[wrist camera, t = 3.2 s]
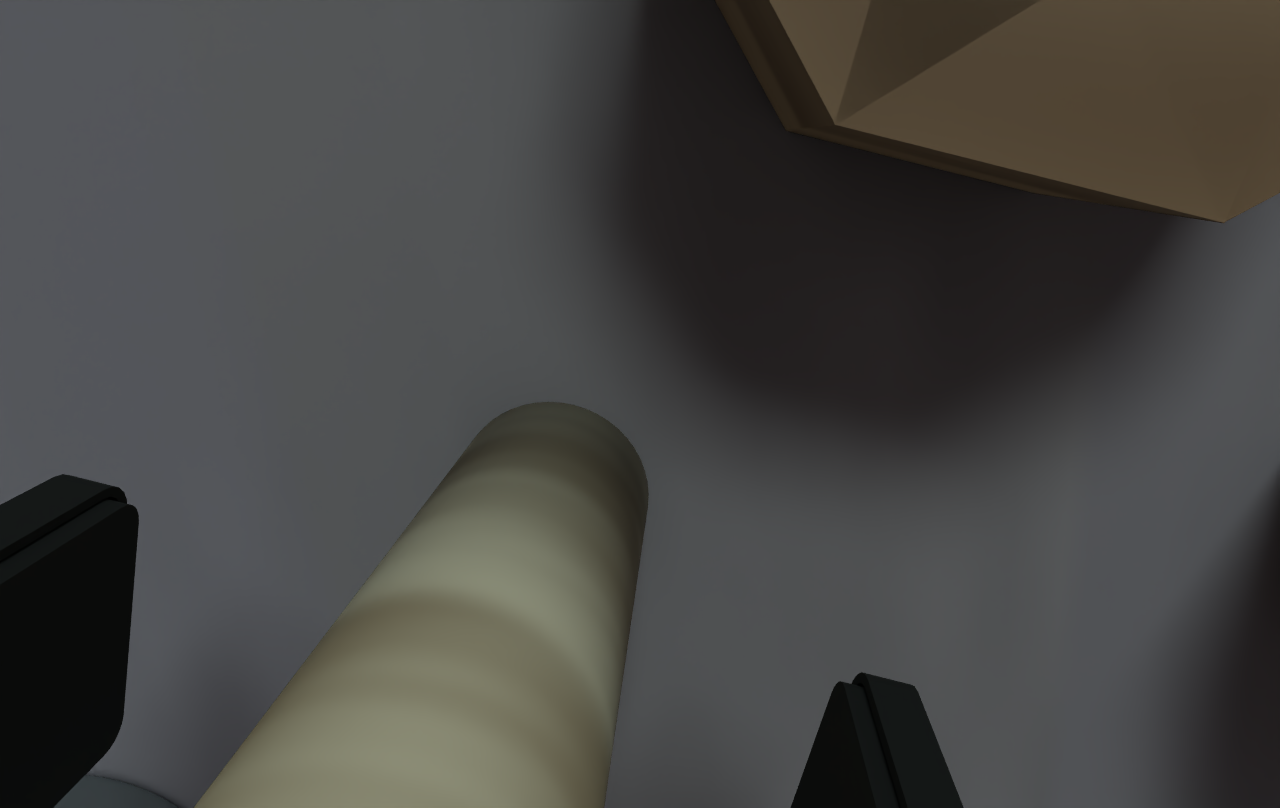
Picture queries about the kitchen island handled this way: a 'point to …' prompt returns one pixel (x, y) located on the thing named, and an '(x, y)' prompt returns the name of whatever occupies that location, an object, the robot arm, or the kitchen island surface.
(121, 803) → the beer glass
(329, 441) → the kitchen island surface
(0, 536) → the robot arm
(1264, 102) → the walnut bead
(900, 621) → the kitchen island surface
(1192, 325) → the kitchen island surface
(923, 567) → the kitchen island surface
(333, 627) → the cream and red cylinder
